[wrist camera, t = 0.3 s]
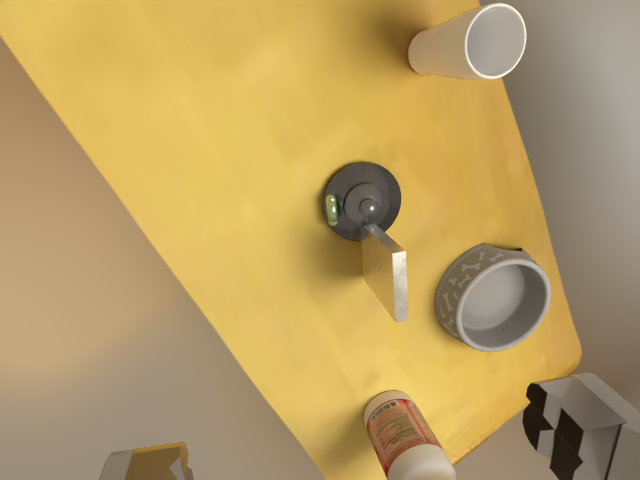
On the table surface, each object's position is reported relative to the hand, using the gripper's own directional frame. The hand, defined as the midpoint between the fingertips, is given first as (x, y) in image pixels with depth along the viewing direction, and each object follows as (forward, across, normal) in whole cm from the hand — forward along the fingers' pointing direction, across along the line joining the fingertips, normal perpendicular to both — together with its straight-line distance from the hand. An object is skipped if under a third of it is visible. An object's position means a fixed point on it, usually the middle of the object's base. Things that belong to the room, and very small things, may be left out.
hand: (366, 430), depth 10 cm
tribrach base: (+48, -12, +9) cm, 50 cm away
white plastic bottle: (+48, -16, +47) cm, 69 cm away
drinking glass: (+49, -21, -10) cm, 54 cm away
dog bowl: (+49, -33, +27) cm, 65 cm away
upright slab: (+46, -13, +13) cm, 50 cm away
